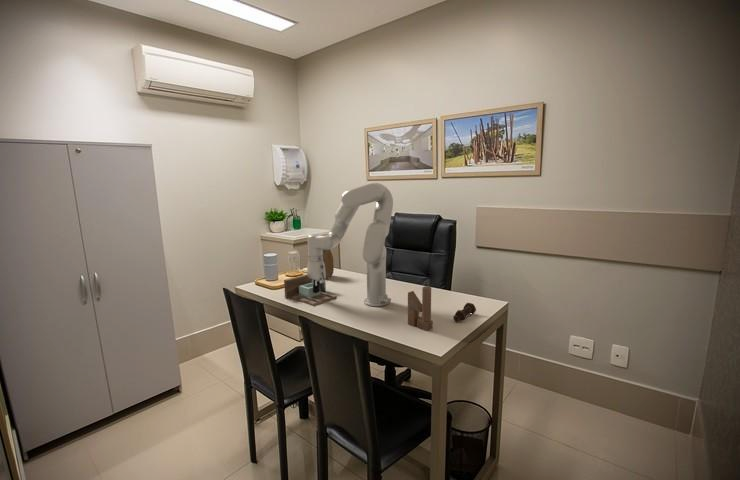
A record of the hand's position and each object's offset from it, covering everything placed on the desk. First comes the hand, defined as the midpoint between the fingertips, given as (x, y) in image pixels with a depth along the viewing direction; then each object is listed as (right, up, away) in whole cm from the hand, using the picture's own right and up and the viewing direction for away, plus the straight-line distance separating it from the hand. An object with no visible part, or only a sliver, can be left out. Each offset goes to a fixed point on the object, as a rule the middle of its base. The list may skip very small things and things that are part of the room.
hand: (316, 292), depth 188 cm
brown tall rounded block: (-1, +3, +44) cm, 44 cm away
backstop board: (-4, -3, +4) cm, 7 cm away
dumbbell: (+70, -8, -27) cm, 76 cm away
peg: (+1, -2, +14) cm, 14 cm away
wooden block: (+49, -9, -37) cm, 62 cm away
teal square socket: (-4, -2, +5) cm, 7 cm away
